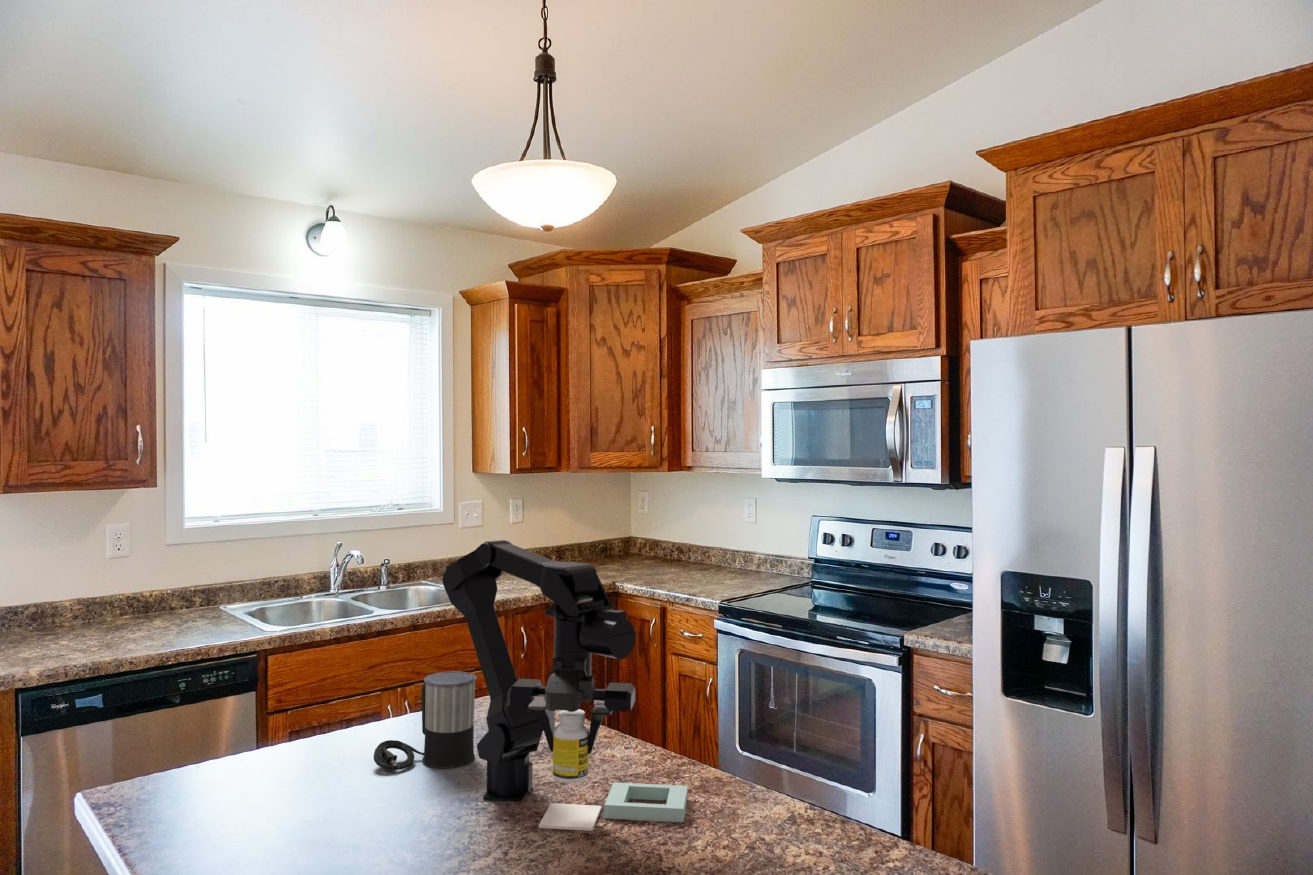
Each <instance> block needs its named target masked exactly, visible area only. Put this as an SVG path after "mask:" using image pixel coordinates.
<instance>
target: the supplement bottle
mask: <svg viewBox="0 0 1313 875" xmlns="http://www.w3.org/2000/svg"><path fill="white" fill-rule="evenodd" d="M585 722H586V712H585V710H583V709H580V708H579V709H578V710H577V711H575V712H568V711H567V710H559V712H558V723H559V724H557V725H556V726H555V729H554V736H553V752H552V778H553V779H554V780H555V781H557V782H559V783H567V784H573V783H574V784H575V783H580V782H583V781H585V780H586V779H587V778H588V775H589V761H590V760H589V758H590V757H589V755H590V754H589V753H588V740H589V732H590V728H589V727H588V726H587V725H586V724H585Z"/></svg>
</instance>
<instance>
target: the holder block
mask: <svg viewBox="0 0 1313 875" xmlns="http://www.w3.org/2000/svg"><path fill="white" fill-rule="evenodd" d="M688 790H689V789H688V785H679V784H678V785H677V784H676V785H675V784H674V785H673V784H657V783H655V784H653V783H637V782H636V783H633V782H616V781H615V782H612V785H611V788H610V789H609V793H608V795H607V798H606V799H605V802H604V804H603V805H604V806H603V808H604V809H603V810H604V813H603V814H604V817H603V818H604V819H611V820H613V819H614V820H631V821H632V820H634V821H648V822H649V821H650V822H651V821H652V822H667V823H668V822H670V823H684V822H685V816H686V810H687V804H688V792H689V791H688ZM630 800H645V801H646V800H647V801H664V800H666V803H665V804H663V803H662V804H661V803H658V804H657V803H643V802H642V803H641V802H639V803H638V802H629V801H630Z"/></svg>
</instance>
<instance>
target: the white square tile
mask: <svg viewBox="0 0 1313 875" xmlns="http://www.w3.org/2000/svg"><path fill="white" fill-rule="evenodd" d="M602 809H603V808H602V805H595V804H594V805H592V804H591V805H590V804H573V803H550V804H549V806H548V808H547V810H546V811H545V813H544V815H543V817H542V819H541V821H540V823H538V829H552V830H568V831H569V830H572V831H588V832H589V831H590V832H593V830H594V828H595V826H596V824H597V821H598V818H599V816H600V814H601V811H602Z"/></svg>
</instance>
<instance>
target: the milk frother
mask: <svg viewBox="0 0 1313 875" xmlns="http://www.w3.org/2000/svg"><path fill="white" fill-rule="evenodd" d="M476 680H477V676H476V675H475V674H474V673H470V672H468V671H467V672H466V671H454V670H453V671H452V670H451V671H441V672H436V673H432V674H428V675H426V676H425V677H424V679H423V681H424V682H423V684H422V687H421V721H422V722H421V723H422V725H421V727H422V728H421V730H422V734H423V735H424V746H423V747H424V749H423V752H421V751H419V750H417V749H416V748H414V747H413V746H411V745H410V744H408V743H404V742H402V741H400V740H391V739H389V740H385V741H383V742H380V743H379V744H378V745H377V747H376V748H375V750H374V753H373V761H374V762H375V764H376V765H377V766H378V767H380V768H382V769H384V770H388V771H400V770H404V769H408V768H409V767H410V766H411V765H412V764H413V763H414V761H415V753H416V754H418V755H421V756H423V757H422V763H423V765H425V766H427V767H429V768H436V769H454V768H459V767H464V766H466V765H468V764H470V763H472V762H474V760H475V758H476V755H475V751H474V746H475V744H474V733H475V732H474V729H475V728H474V727H475V724H474V723H475V698H476V697H475V696H476V694H475V692H476V691H475V689H476ZM388 749H395V750H400V751H402V752H403V753H404V754H405V755H406V759H405V760H404V761H402V762H398V763H396V762H397V759H398V755H396V754H393V753H392V752H391V751H390V750H388Z"/></svg>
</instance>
